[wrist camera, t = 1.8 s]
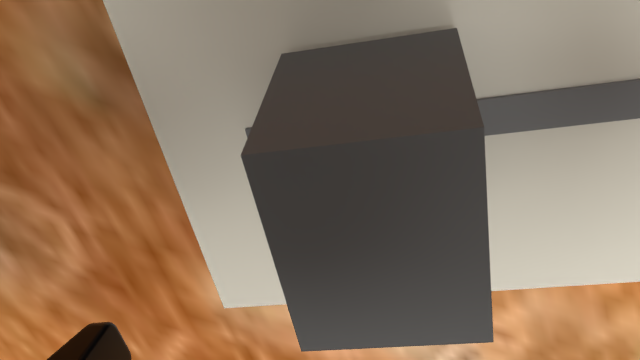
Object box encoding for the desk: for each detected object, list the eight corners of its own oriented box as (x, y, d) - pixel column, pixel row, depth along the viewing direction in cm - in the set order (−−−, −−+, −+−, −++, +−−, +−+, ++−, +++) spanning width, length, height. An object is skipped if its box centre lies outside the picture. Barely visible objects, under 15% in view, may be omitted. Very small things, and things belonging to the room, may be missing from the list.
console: (243, 248, 22) (223, 310, 19) (123, -100, 15) (70, -76, 13) (937, 189, 18) (1031, 259, 15) (1179, -322, 11) (1414, -354, 9)
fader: (321, 221, 16) (301, 351, 13) (281, 54, 14) (240, 155, 10) (468, 208, 15) (493, 342, 12) (456, 27, 13) (484, 126, 9)
